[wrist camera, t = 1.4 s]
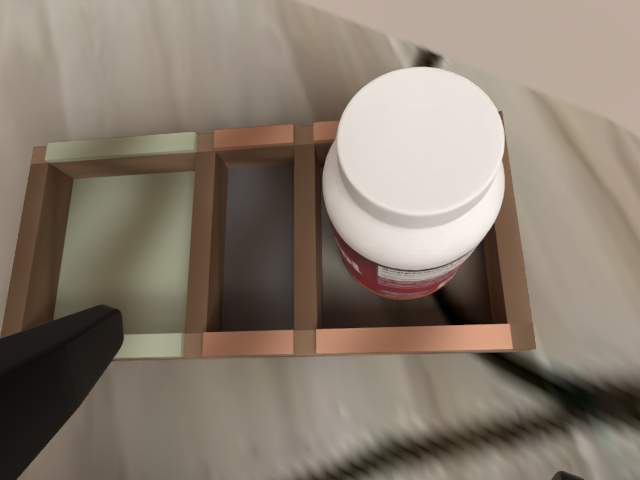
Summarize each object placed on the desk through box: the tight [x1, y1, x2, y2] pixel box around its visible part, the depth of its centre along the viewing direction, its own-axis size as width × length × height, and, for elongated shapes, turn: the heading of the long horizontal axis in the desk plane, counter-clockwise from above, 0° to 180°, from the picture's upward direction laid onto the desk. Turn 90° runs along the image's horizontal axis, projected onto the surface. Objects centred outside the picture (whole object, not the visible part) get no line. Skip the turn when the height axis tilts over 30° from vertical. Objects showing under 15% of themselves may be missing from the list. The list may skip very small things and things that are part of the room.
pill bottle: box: [322, 67, 505, 300], centre depth 18 cm, size 6×6×11 cm
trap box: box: [1, 111, 536, 361], centre depth 23 cm, size 24×11×3 cm, turn 91°
